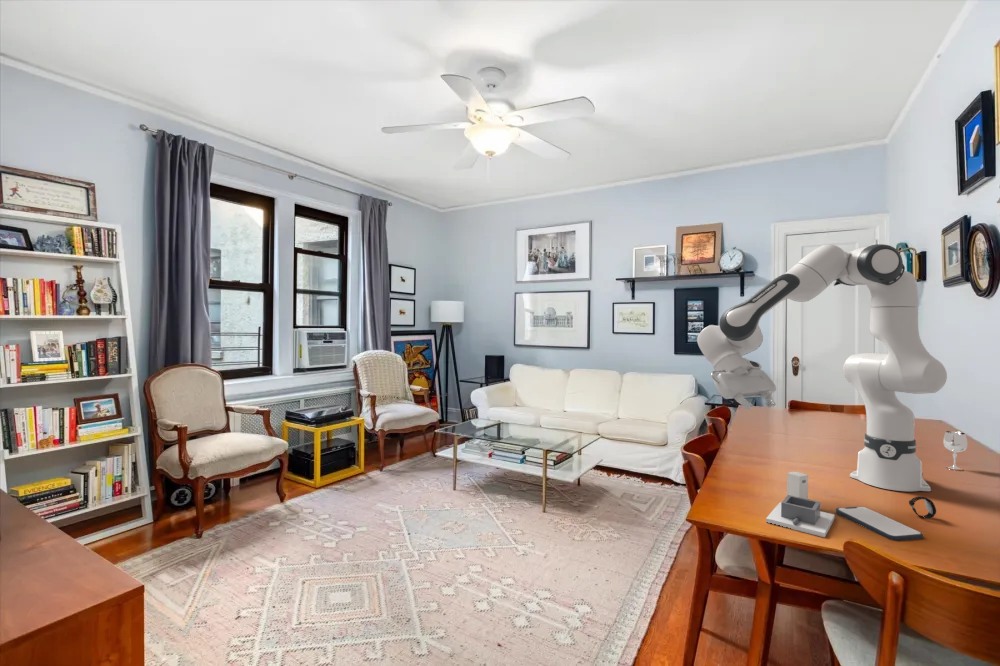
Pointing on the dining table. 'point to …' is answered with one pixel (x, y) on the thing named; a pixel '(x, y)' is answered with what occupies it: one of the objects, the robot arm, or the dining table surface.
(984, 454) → the dining table surface
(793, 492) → the block
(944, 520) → the dining table surface
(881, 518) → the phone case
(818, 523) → the dock
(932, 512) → the smartwatch
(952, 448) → the wineglass
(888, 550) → the dining table surface
